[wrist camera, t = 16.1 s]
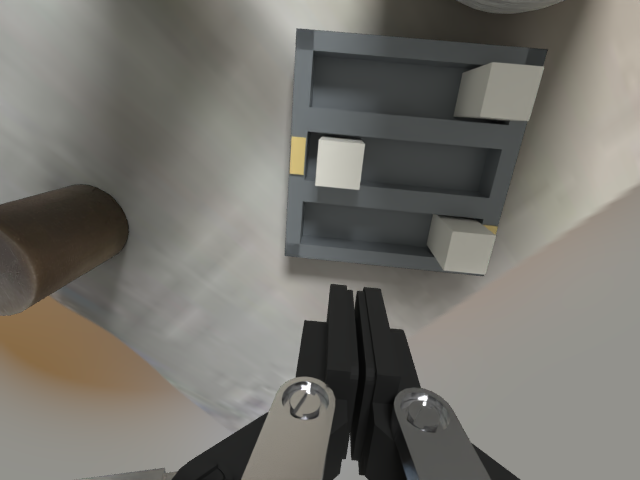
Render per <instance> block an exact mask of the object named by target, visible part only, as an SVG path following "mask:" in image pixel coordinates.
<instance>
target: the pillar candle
mask: <svg viewBox="0 0 640 480" xmlns="http://www.w3.org/2000/svg"><path fill="white" fill-rule="evenodd" d="M128 229H129V228H128V222H127V219H126V216H125V214H124V212H123V210H122V208H121V207H120V206H119V205H118V203H117V202H116V201H115V199H113V197H112V196H110V195H109V194H107V193H105V192H104V191H102V190H100V189H98V188H96V187H93V186H89V185H82V184H80V185H72V186H68V187H64V188H61V189H57V190H53V191H49V192H45V193H42V194H38V195H34V196H30V197H27V198H23V199H19V200H16V201H12V202H8V203H5V204H1V205H0V315H3V316H5V315H13V314H17V313H20V312H22V311H24V310H26V309H27V308H29V307H30V306H32V305H34V304H35V303H37V302H39V301H40V300H41V299H44V298H45V297H46V296H48V295H50V294H52V293H54V292H55V291H57V290H58V289H60V288H62V287H63V286H65V285H67V284H68V283H70V282H72V281H73V280H75V279H76V278H78V277H80V276H81V275H83V274H85V273H87V272H88V271H90V270H92V269H93V268H95V267H97V266H98V265H100V264H102V263H103V262H105V261H107V260H108V259H109V258H112V257H113V256H115V255H116V254H118V253H119V252H120V251H121V250H122V248H123V247H124V245H125V243H126V241H127V238H128V233H129V230H128Z"/></svg>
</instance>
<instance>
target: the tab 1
mask: <svg viewBox="0 0 640 480" xmlns="http://www.w3.org/2000/svg"><path fill="white" fill-rule="evenodd" d="M495 239H496V235H495V234H494V233H492V232H491V231H490V230H488V229H487V228H486V227H485V226H483V225H482V224H481V223H479V222H478V221H477V220H476V219H474V218H468V217H458V216H447V215H437V214H433V216H432V221H431V226H430V231H429V235H428V240H427V246H428V247H429V249H430V251H431V252H432V254H433V255H434V257H435V258H436V260H437V261H438V263H439V264H440V266H441V267H442V269H443V270H444V271H454V272H464V273H474V274H483V275H485V274H486V271H487V267H488V264H489V260H490V257H491V253H492V250H493V246H494V243H495Z"/></svg>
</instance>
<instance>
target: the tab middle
mask: <svg viewBox="0 0 640 480" xmlns="http://www.w3.org/2000/svg"><path fill="white" fill-rule="evenodd" d="M364 149H365V143H364V142H363V141H362V140H361V139H356V138H345V137H334V136H324V135H323V136H322V137H321V138H320V139H319V144H318V156H317V168H316V181H315V186H323V187H334V188H344V189H354V190H359V188H360V180H361V172H362V164H363V157H364Z"/></svg>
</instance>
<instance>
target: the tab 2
mask: <svg viewBox="0 0 640 480" xmlns="http://www.w3.org/2000/svg"><path fill="white" fill-rule="evenodd" d="M543 70H544V66H532V65H521V64H509V63H497V62H492V63H489V64H486V65H483V66H480V67H478V68H475V69H472V70H469V71H466V72H464V73H462V78H461V83H460V87H459V92H458V97H457V102H456V106H455V111H454V117H465V118H476V119H487V120H510V121H529V120H530V116H531V113H532V109H533V106H534V102H535V99H536V95H537V91H538V88H539V84H540V81H541V77H542V74H543Z"/></svg>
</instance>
